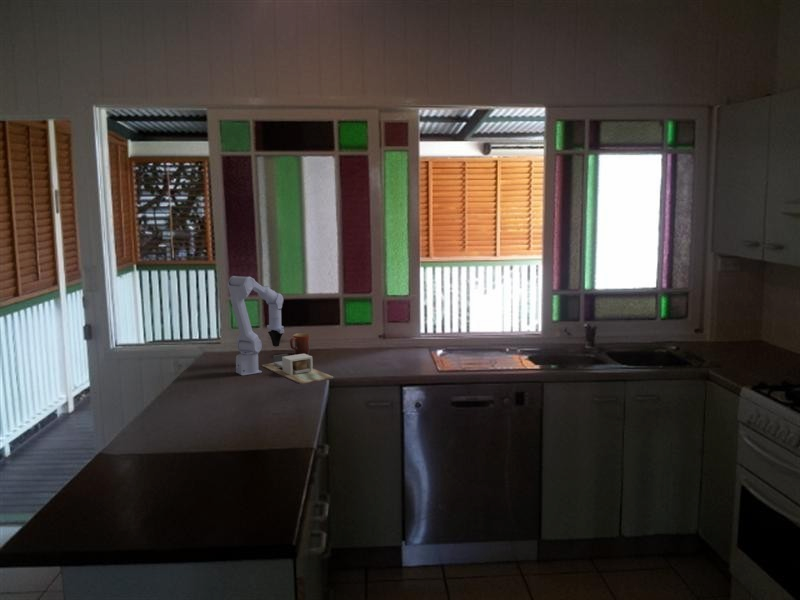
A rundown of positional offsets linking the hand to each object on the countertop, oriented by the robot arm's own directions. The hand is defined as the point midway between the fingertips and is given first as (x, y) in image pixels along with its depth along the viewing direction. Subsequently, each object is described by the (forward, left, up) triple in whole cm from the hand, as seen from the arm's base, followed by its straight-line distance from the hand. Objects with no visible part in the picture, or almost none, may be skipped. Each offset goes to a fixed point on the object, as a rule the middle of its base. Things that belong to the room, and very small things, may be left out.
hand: (275, 346), depth 299 cm
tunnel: (0, -22, -8) cm, 24 cm away
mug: (+17, +9, -9) cm, 21 cm away
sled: (0, -16, -7) cm, 17 cm away
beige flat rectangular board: (0, -20, -8) cm, 22 cm away
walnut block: (0, -24, -6) cm, 24 cm away
